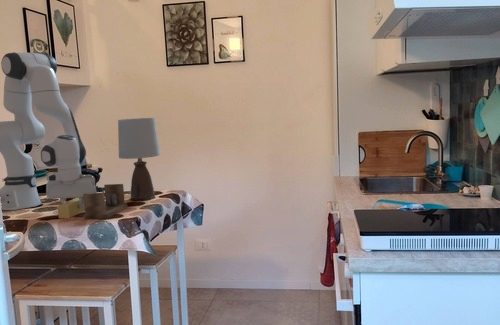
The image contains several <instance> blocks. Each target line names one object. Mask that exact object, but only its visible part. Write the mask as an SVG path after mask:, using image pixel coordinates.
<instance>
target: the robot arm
mask: <svg viewBox="0 0 500 325" xmlns="http://www.w3.org/2000/svg"><path fill="white" fill-rule="evenodd" d="M0 63H1V64H0V65H1V66H0V67H1V70H2V72H3V74H4V75H5V76H4V84H3V102H2V104H3V107H4V109H5V110H6V111H7V112H9V113H11V114H13V115H14V120H7V121H6V120H4V121H0V154H1V155H2V157H3V159H4V162H5V169H6V174H7V175H6V177H5V178H2V179H1V180H2V183H3V182H4V185H2V187H0V197H1V203H2V210H1V211H16V210H22V209H27V208H32V207H33V208H34V207H37V206H39V205H42V201H41V199H40V197H39V193H38V189H37V176H36V173H35V168H34V159H33V158H32V156H31V155H30V154H29V153H25V152H23V151H22V149H21V147H20V145H22V146H23V145H33V144H35V143H38V142H41V141H43V139H44V138H45V135H46V129H45V126H44V124H43V123H42V122H41V121H39V119H37V118H36V116H35V114H34V111H33V106H34V108H35V109H36V110H37V111H38V112H40V113H41V114H44V115H46V116H48V117H52V118H53V119H56V120H58V121H59V122H60V123H61V125H62V127H63V130H64V134H62V135H58V136H56V137H55V140H53V141H52V142H51V143H49V144H45V145H44V146H43V147H42V149H41V151H40V159H41V162H42V164H44V165H45V166H47V167H51V168H53V167H54V168H55V167H57V172H54V173H51V174H49V175H46V181H47V183H46V186H45V188H46V189H45V192H46V197H47V198H48V199H59V201H60V202H61V204H63V203H66V202H67V201H66V200H67V199H73V198H79V200H80V203H79V204H77V206H78V207H77V208H83V204H82V203H83V202H84V197H83V194H84V193H98V192H97V191H96V186H97V185H96V186H95V178H94V177H93V176H92V175H90V174H88V175H81V166H80V164H81V163H82V161H83V160H84V159H86V157H87V150H86V148H85V145H84V143H83V141H82V139H81V136H80V133H79V130H78V126H77V123H76V121H75V118H74V114H73V111H72V109H71V107H70V106H69V105H68V104H66V102H65V101H64V99H63V97H62V94H61V91H60V84H59V81H58V77H57V75H56V73H57V70H58V63H57V61H56V59H55V58H54V57H53V56H52V55H50V54H46V53H38V52H37V53H36V52H9V53H4V55H3V57H2V59H1V62H0ZM91 176H92V177H91Z"/></svg>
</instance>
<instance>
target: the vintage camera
mask: <svg viewBox="0 0 500 325" xmlns="http://www.w3.org/2000/svg"><path fill="white" fill-rule="evenodd" d="M87 162H88V160H87V159H86V158H85V159H84V160H83V161H82V163H81V164H80V166H81V175H88V174H90V175H92V176H93V177H94V178H95V186H96V191H97V193H104V194H105V188H104V187H102V186H101V187H99V185H97V183H99V182H100V179H101V174H102V172H103V170H104V168H102V167H97V170H95V169H91V168H88V164H87ZM100 173H101V174H100ZM92 176H91V177H92ZM104 197H105V195H104ZM73 199H75V198H72V200H73Z"/></svg>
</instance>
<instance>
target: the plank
mask: <svg viewBox="0 0 500 325" xmlns="http://www.w3.org/2000/svg"><path fill="white" fill-rule="evenodd" d="M79 203H80V200H79V198H75V199H73V198H72V199H71V200H68V201H66V203H63V204H62V203H61V204H59V205H57V215H58V216H57V217H58V219H71V218H73V217H75V216H77V215H79V214H81V213H82V212H85V207H84V202H83V203H82V204H83V208H77V207H78V206H77V204H79ZM70 217H71V218H70Z"/></svg>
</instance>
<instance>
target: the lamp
mask: <svg viewBox="0 0 500 325" xmlns="http://www.w3.org/2000/svg"><path fill="white" fill-rule="evenodd" d="M117 123H118V124H117V128H118V129H117V130H118V131H117V132H118V133H117V134H118V158H119V159H123V160H125V159H126V160H130V159H131V160H133V159H137V161H135V162H133V166H134V169H133V172H132V175H131V180H130V182H131V183H130V184H131V185H130V199H131V200H133V201H134V200H135V201H136V200H138V201H139V200H148V199H149V200H150V199H153V198H155V196H156V193H155V187H154V184H153V179H152V176H151V174H150V171H149V169H148V168H147V166H146V165H147V164H148V163H147V161H143V159H147V158H154V157H158V156H161V154H160V153H161V152H160V146H159V139H158V133H157V132H158V131H157V125H156V118H155V117H142V118H141V117H138V118H126V119H125V118H122V119H117Z"/></svg>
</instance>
